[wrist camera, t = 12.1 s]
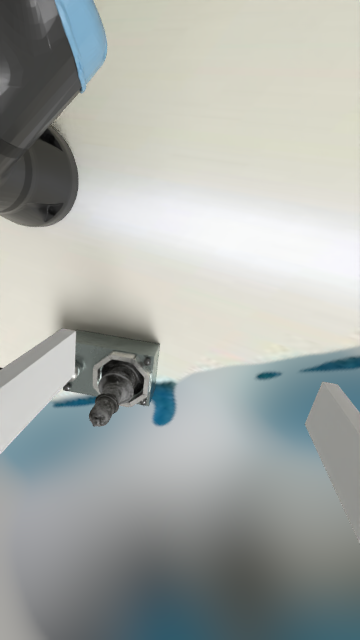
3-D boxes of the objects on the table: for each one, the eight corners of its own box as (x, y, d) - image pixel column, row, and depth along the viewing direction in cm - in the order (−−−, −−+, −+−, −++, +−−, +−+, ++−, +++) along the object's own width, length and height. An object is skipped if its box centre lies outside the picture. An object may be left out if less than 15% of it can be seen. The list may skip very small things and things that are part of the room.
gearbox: (76, 375, 53) (57, 396, 47) (76, 329, 50) (55, 345, 43) (154, 389, 52) (146, 413, 46) (159, 344, 49) (151, 362, 42)
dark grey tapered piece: (123, 397, 48) (95, 450, 36) (99, 374, 47) (63, 422, 35) (146, 380, 46) (124, 430, 34) (122, 355, 45) (91, 399, 33)
